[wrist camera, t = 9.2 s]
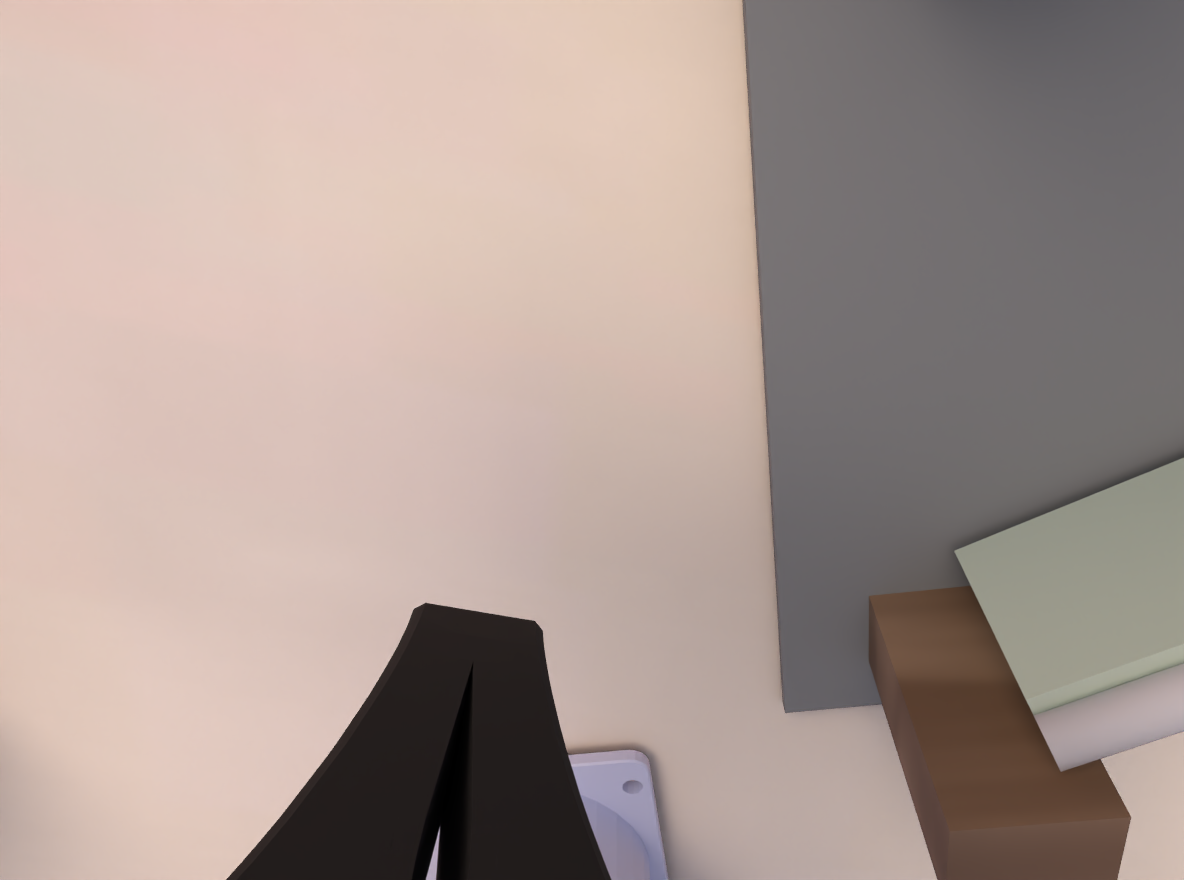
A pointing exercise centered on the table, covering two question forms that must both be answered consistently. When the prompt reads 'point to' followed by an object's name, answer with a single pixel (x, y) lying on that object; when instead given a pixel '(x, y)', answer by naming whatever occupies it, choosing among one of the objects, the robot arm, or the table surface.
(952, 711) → the gate posts
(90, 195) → the table surface
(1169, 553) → the gate
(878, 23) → the yard mat
